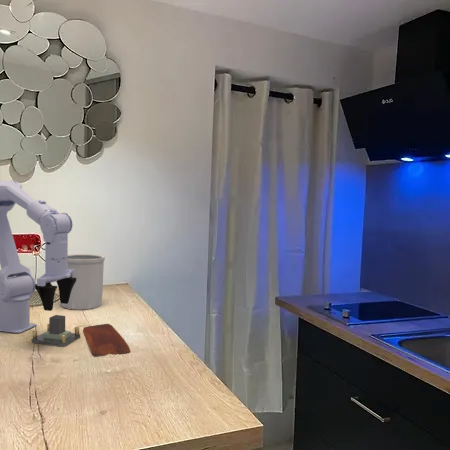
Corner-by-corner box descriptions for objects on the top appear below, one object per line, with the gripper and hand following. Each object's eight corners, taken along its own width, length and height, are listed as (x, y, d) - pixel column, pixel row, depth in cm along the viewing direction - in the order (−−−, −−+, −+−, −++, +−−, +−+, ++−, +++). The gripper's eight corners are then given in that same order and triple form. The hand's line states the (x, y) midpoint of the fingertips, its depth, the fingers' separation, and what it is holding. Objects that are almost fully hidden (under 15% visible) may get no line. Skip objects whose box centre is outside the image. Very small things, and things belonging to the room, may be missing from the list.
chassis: (31, 342, 128) (31, 331, 128) (48, 333, 136) (48, 323, 135) (64, 346, 125) (64, 335, 125) (80, 337, 133) (80, 327, 133)
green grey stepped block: (43, 337, 129) (43, 317, 129) (52, 333, 133) (52, 313, 132) (62, 340, 128) (62, 320, 127) (71, 335, 132) (71, 316, 131)
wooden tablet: (132, 355, 123) (132, 349, 123) (93, 360, 119) (93, 353, 119) (113, 325, 147) (113, 320, 147) (80, 328, 143) (80, 322, 143)
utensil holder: (86, 297, 178) (86, 251, 176) (112, 304, 169) (113, 256, 167) (51, 305, 166) (51, 255, 164) (78, 313, 157) (78, 261, 155)
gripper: (53, 263, 121) (53, 315, 122) (83, 255, 135) (83, 301, 136) (29, 261, 122) (29, 312, 124) (61, 253, 136) (61, 299, 138)
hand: (56, 306), depth 130 cm, fingers open, 7 cm apart
